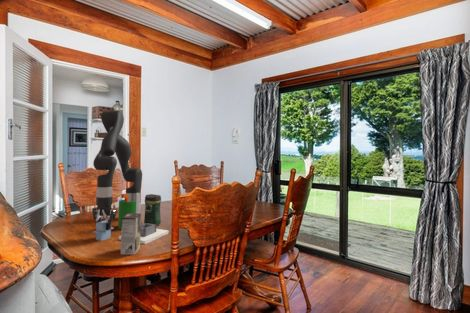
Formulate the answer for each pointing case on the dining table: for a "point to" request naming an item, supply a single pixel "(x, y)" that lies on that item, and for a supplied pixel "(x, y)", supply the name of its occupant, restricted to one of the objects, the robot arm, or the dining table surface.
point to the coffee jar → (152, 209)
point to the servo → (102, 231)
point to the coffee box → (130, 233)
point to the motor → (125, 208)
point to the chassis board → (150, 233)
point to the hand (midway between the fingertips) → (103, 228)
